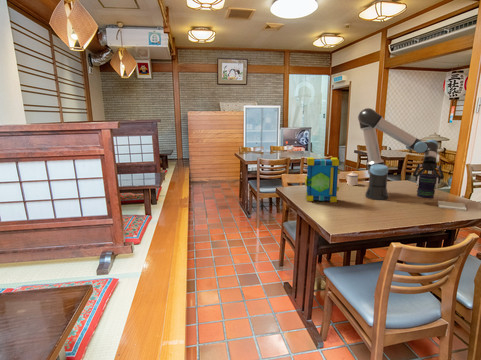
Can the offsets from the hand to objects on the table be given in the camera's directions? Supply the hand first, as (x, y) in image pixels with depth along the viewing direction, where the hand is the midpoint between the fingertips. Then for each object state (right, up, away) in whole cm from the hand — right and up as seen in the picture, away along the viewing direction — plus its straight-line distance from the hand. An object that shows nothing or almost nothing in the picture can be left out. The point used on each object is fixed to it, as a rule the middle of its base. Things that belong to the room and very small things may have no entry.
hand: (426, 185), depth 183 cm
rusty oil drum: (+2, -7, +4) cm, 9 cm away
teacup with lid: (-25, 0, +63) cm, 68 cm away
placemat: (+14, -13, -3) cm, 19 cm away
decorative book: (-65, -11, +15) cm, 68 cm away
